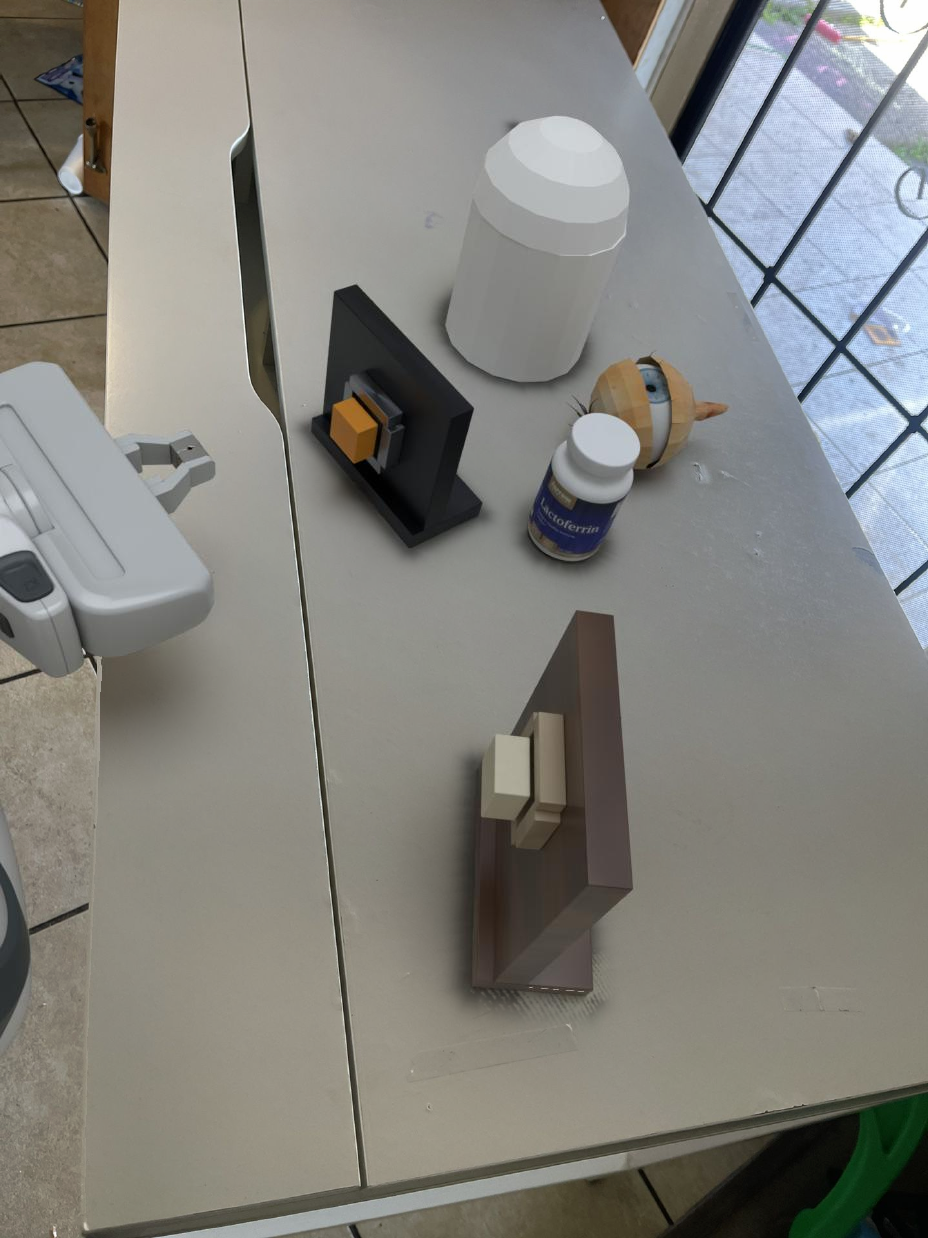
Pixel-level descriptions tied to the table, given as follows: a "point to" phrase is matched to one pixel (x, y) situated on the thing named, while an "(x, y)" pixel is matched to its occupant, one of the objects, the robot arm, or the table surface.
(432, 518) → the black button panel
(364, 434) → the button far
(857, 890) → the table surface
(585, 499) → the pill bottle
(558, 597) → the table surface
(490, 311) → the container
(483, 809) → the button near
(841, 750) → the table surface
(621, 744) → the brown button panel
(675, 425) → the sculpture
